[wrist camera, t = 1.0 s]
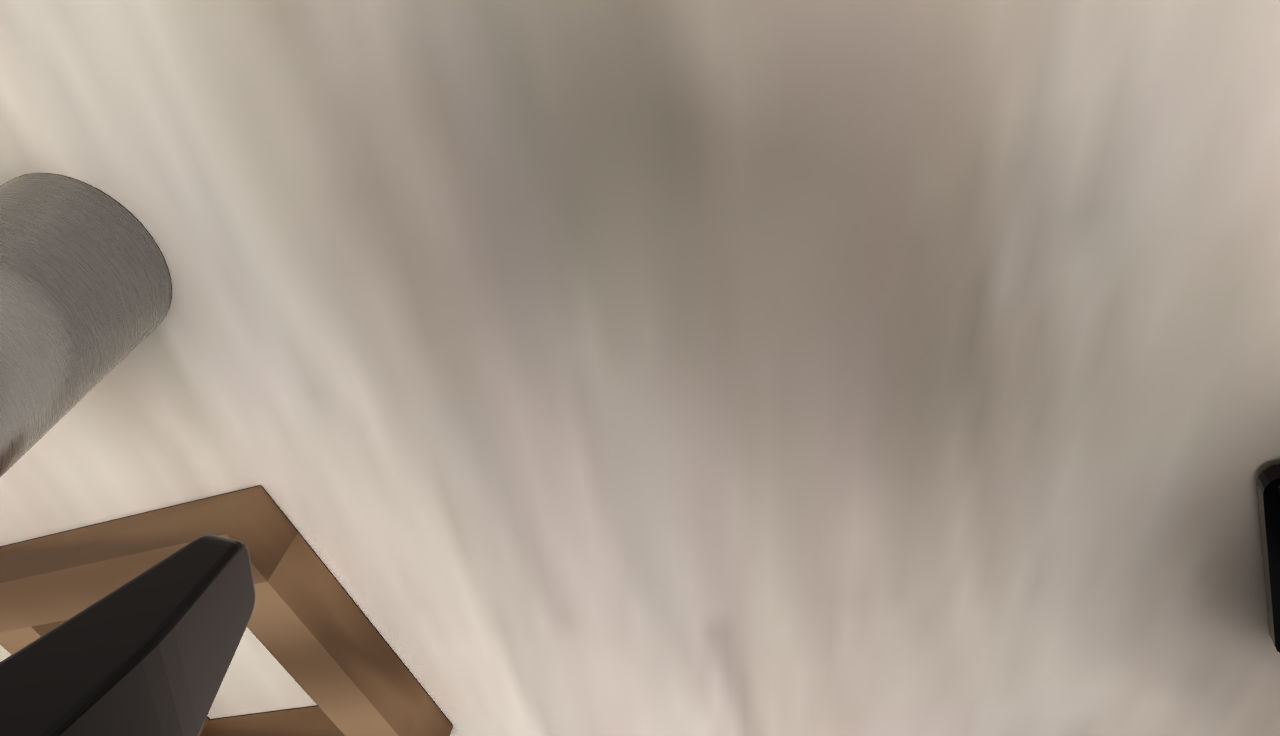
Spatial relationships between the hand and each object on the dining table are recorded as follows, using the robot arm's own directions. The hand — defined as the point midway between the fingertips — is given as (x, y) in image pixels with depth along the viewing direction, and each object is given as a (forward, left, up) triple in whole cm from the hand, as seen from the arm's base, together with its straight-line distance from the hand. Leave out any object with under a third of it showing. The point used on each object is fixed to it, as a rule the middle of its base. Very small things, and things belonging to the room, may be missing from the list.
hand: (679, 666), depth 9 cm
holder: (-11, +23, -13) cm, 29 cm away
